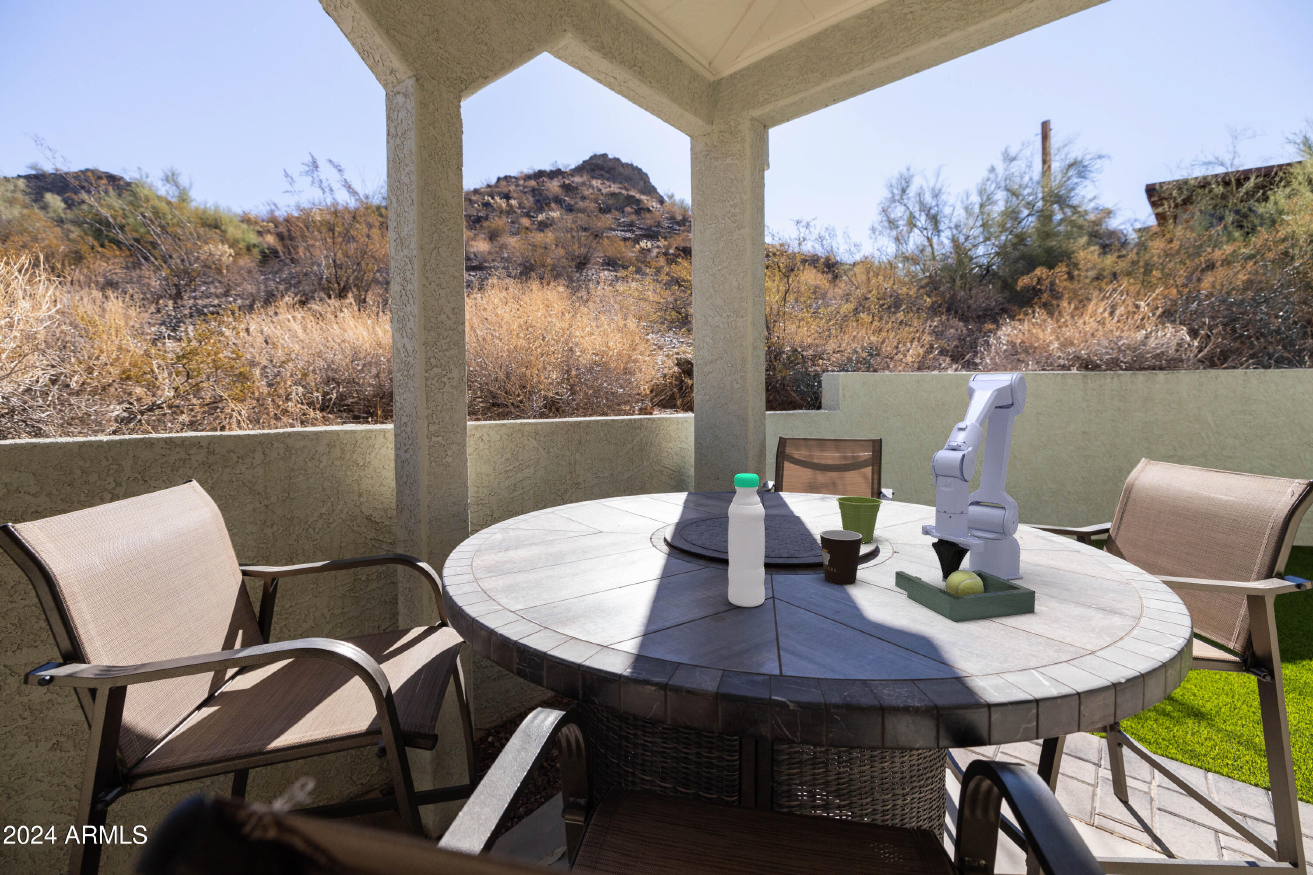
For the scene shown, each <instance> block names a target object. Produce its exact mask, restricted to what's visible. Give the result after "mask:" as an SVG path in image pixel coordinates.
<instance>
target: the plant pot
mask: <svg viewBox="0 0 1313 875" xmlns="http://www.w3.org/2000/svg"><path fill="white" fill-rule="evenodd" d="M836 501H837V503H838V509H839V510H840V518H841V526H842V530H846V531H852V532H856V533H859V534H861V535H862V541H861V543H862V544H864V543H863V542H866V543H868V542H870V543H872V542H873V538H874V533H875V528H876V524H877V518H878V515H879V514H878V513H879V511H880V507H881V504H883V500H881V499H880V498H879V499H878V498H874V497H870V496H869V497H866V496H852V495H851V496H850V495H849V496H840V497H836ZM871 541H872V542H871Z"/></svg>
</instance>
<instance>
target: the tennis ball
mask: <svg viewBox="0 0 1313 875" xmlns="http://www.w3.org/2000/svg"><path fill="white" fill-rule="evenodd" d="M944 590H945V591H947V592H949V593H951V594H953V595H956V596H963V595H972V594H981V593H984V586H983V582H982V580H981V579H980V578H979V577H978V576H977V575H976V574H975V573H973V572H971V571H969V570H960V569H959V570H957V571H955V572H953V573H952V574H951V575H950V576H949V577H948V578H947V581H946V582H945V587H944Z"/></svg>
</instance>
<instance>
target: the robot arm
mask: <svg viewBox="0 0 1313 875" xmlns="http://www.w3.org/2000/svg"><path fill="white" fill-rule="evenodd" d="M1027 388H1028V387H1027V382H1026V378H1025V376H1024V375H1023V373H1021V372H1015V373H990V374H989V373H984V374H983V373H982V374H980V373H975V374H974V373H973V375H972V376H970V378H969V381H968V383H967V394H968V398H969V404H968V407H967V411H966V413H965V415H964V419H963V421H960V422H958V423H956V424H955V425H954V427H953V429H952V431H951V433H950V435H949V437H948V438H947V441H946V443H945V445H944V447H943V449H940V450H938V451H936V452H935V453H934V454H933V456H932V460H931V464H930V470H931V471H930V472H931V474H932V475H931V476H932V478H933V479H932V480H933V486H934V487H935V488H936V490H935V518H934V520H935V522H934V523H935V524H934V525H933V524H922V525H921V535H924V536H930V537H931V538H934V539H937V541H932V542H931V547H932V549H933V550H934V552H935V554H936V557H937V559H938V562H939V565H940V568H941V574H943V578H944V579H947V578H948V577H949V576H950V575H951V574H952V573H953V572H955V571H957V570H969V571H971V572H972V571H975V570H981V571H984V572H987V573H989V574H992V575H995V576H997V577H1000V578H1002V579H1005V580H1015V579H1023V574H1020V567H1021V566H1020V565H1021V546H1020V543H1019V541H1018V539H1017V538H1016V537H1015V536H1014V535H1015V534H1016V532H1017V531H1018V528H1019V523H1020V521H1019V519H1020V518H1019V505H1018V502H1017V501H1016V500H1015V499H1014V498H1013V497H1012V496H1011V495H1009V494H1008V493H1007V492H1006V484H1007V478H1008V470H1009V469H1008V468H1009V461H1010V454H1011V453H1010V452H1011V447H1012V446H1011V445H1012V437H1013V430H1014V429H1013V428H1014V423H1015V418H1016V417H1017V416H1019V415H1021V414H1022V413H1024V408H1025V406H1026V397H1027ZM986 422H987V428H986V432H984V429H983V427H984V425H985V424H986ZM985 433H986V434H985ZM984 439H985V441H984ZM983 441H984V442H985V443H984V451H983V459H982V466H981V474H980V480H979V481H980V483H979V488H978V489H977V490H975V491H973V492H972V493H970V481H971V480H972V479H973V477H974V476H975V473H976V472H975V471H976V464H977V461H978V457H977V453H978V451H979V449H980V447H981V444H982V443H983ZM991 504H993V505H991ZM996 505H997V506H996ZM999 505H1000V506H999ZM968 553H969V560H968V561H969V564H968V567H965V568H964V567H962V568H960V567H961V565H962V562H963V561H964V559H965V557H966V556H967V554H968Z"/></svg>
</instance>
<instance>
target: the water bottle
mask: <svg viewBox="0 0 1313 875" xmlns="http://www.w3.org/2000/svg"><path fill="white" fill-rule="evenodd" d="M733 485H734V488H735V490H736V491H735V492H736V493H735V494H734V497H733V498H732V502H731V503H730V505H729V507H728V511H727V512H728V513H727V515H728V528H727V530H728V533H727V548H728V549H727V551H728V555H727V556H728V569H727V570H728V571H727V575H728V588H727V597H728V601H729V602H730V603H731V604H732V605H734V606H737V607H741V608H754V607H759V606H760V605H762V604H764V602H765V599H766V595H765V594H766V590H765V576H766V575H765V573H766V572H765V566H764V565H765V553H766V552H765V551H766V535H765V534H766V532H765V520H764V519H765V518H766V517H765V516H766V510H765V508H764V506H763V504H762V502H761V499H760V497H759V495H758V492H757V491H758V489H759V485H760V477H759V476H758V474H756V473H747V472H746V473H738V474H735V475H734V477H733Z"/></svg>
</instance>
